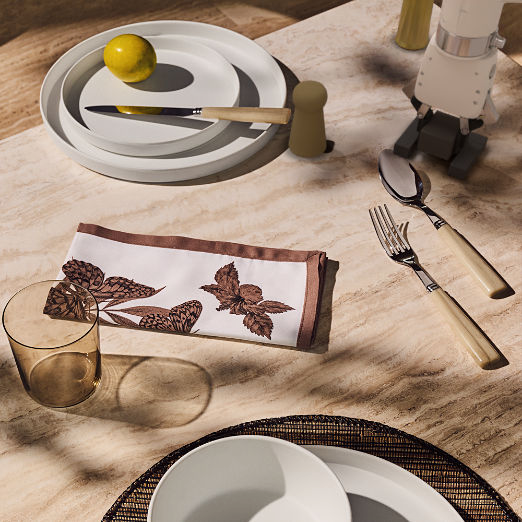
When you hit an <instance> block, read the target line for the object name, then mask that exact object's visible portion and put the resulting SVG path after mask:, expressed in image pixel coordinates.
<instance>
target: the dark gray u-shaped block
mask: <svg viewBox="0 0 522 522" xmlns="http://www.w3.org/2000/svg"><path fill="white" fill-rule="evenodd" d="M418 120H419V118H418V117H417V115H416V116H415V118H414V119H413V120H412V121H411V123H410V124H409V125H408V126H407V128H406V129H404V131H403V132H402V133H401V135H400V136H399V137H398V138H397V139H396V141H395V142H394V144H393V150H392V154H394V155H397V156H400V157H402V158H405V159H409V157H410V156H411V155H412V153H413V152H414V150H415V149H417V146H418V135H419V132H417V125H418ZM488 139H489V137H487V136H485V135H482V134H479V133H478V132H477V133H476V132H473V131H471V132H470V135H469V138H468V142H467V144H466V146H465V148H460V149H459V151H458V152H457V154H455V157H454V158H453V159H452V161H451V162H450V164H449V166H448V167H449V168H448V170H447V175H449V176H451V177H453V178H456V179H458V180H460V181H464V179H465V178H466V176H467V175H468V173H469V172H470V171H471V169H472V168H473V166H474V164H476V162H477V161H478V159H479V157H480V156H481V155H482V153H483V151H484V150H485V149H486V146H487V143H488V141H489V140H488Z"/></svg>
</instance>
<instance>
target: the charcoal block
mask: <svg viewBox="0 0 522 522" xmlns="http://www.w3.org/2000/svg"><path fill="white" fill-rule="evenodd" d="M459 129H460V117H459V116H456V115H454V114H451V113H448V112H444V111H441V110H438V109H437V110H436V111H435V112H434V115H433V116H432V117H431V119H430V120H429V121H428V122H427V124H426V125H425V126H424V127H423V128H422V130H421V131H420V136H419V141H418V145H417V147H416V150H419V151H421V152H424V153H426V154H429V155H432V156H434V157H437V158H439V159H442V160H445V161H448V160H449V159H450V157H451V156H452V155H453V152H452V151H453V147H454V143H455V139H456V133H457V131H458V130H459Z"/></svg>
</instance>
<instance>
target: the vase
mask: <svg viewBox="0 0 522 522" xmlns="http://www.w3.org/2000/svg"><path fill="white" fill-rule="evenodd" d="M434 5H435V0H402V4H401V9H400V14H399V19H398V26H397V30H396V34H395V37H394V41H395V43H396V44H397V45H398V46H399V47H401V48H403V49H405V50H410V51H412V50H413V51H414V50H415V51H416V50H420V49H424V48H425V47H427V46H428V44H429V36H430V30H431V20H432V15H433V9H434Z"/></svg>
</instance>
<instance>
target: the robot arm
mask: <svg viewBox="0 0 522 522" xmlns="http://www.w3.org/2000/svg"><path fill="white" fill-rule="evenodd" d="M507 3H511V4H513V3H514V4H522V0H442V2H441V6H440V12H439V18H438V23H437V28H436V31H435V32H434V33H433V34H432V36H431V37H430V40H429V41H428V44H427V45H426V49H425V52H424V54H423V57H422V60H421V63H420V67H419V70H418V73H417V75H416V76H415V77H413V78H412V79H411V80H409V81H408V82H406V83H405V84H404V85H403V87H402V88H401V91H402V93H403V94H404V95H405V96H406V98H407V99H408V100H410V101H409V102H410V104H411V105H412V107H413V109H414V110H415V111H416V116H417V117H418V118H419V120H418V125H417V132H419V135H418V141H419V136H420V131H421V130H422V128H423V127H424V126H425V125H426V124H427V122H428V121H429V120H430V119H431V117H432V116H433V115H434V113H435V112H434V109H432V108H435V109H439V110H440V111H441V110H442V111H443V112H444V111H445V112H446V113H449V114H452V115H455V116H456V115H457V116H458V117H459V118H460V129H459V130H458V131H457V133H456V139H455V143H454V147H453V151H452V152H453V153H452V155H457V154H458V152H459V151H460V150H461V148H465V146H466V144H467V142H468V138H469V135H470V132H473V131H475V130H478V129H481V128H482V127H483V126H484V127H486V126H491V125H494V124H496V123H498V122H497V121H498V120H499V119H500V113H499V112H498V110H497V108H496V105H495V103H494V100H493V99H492V94H493V89H494V84H495V79H496V73H497V69H498V67H497V66H498V56H499V54H498V53H499V49H503V48H504V46H505V44H506V41H507V39H506V38H505V37H503V36H502V37H501V35H499V28H500V27H499V22H500V19H501V15H502V12H503V8H504V5H505V4H507ZM481 112H483V113H484V114H481Z"/></svg>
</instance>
